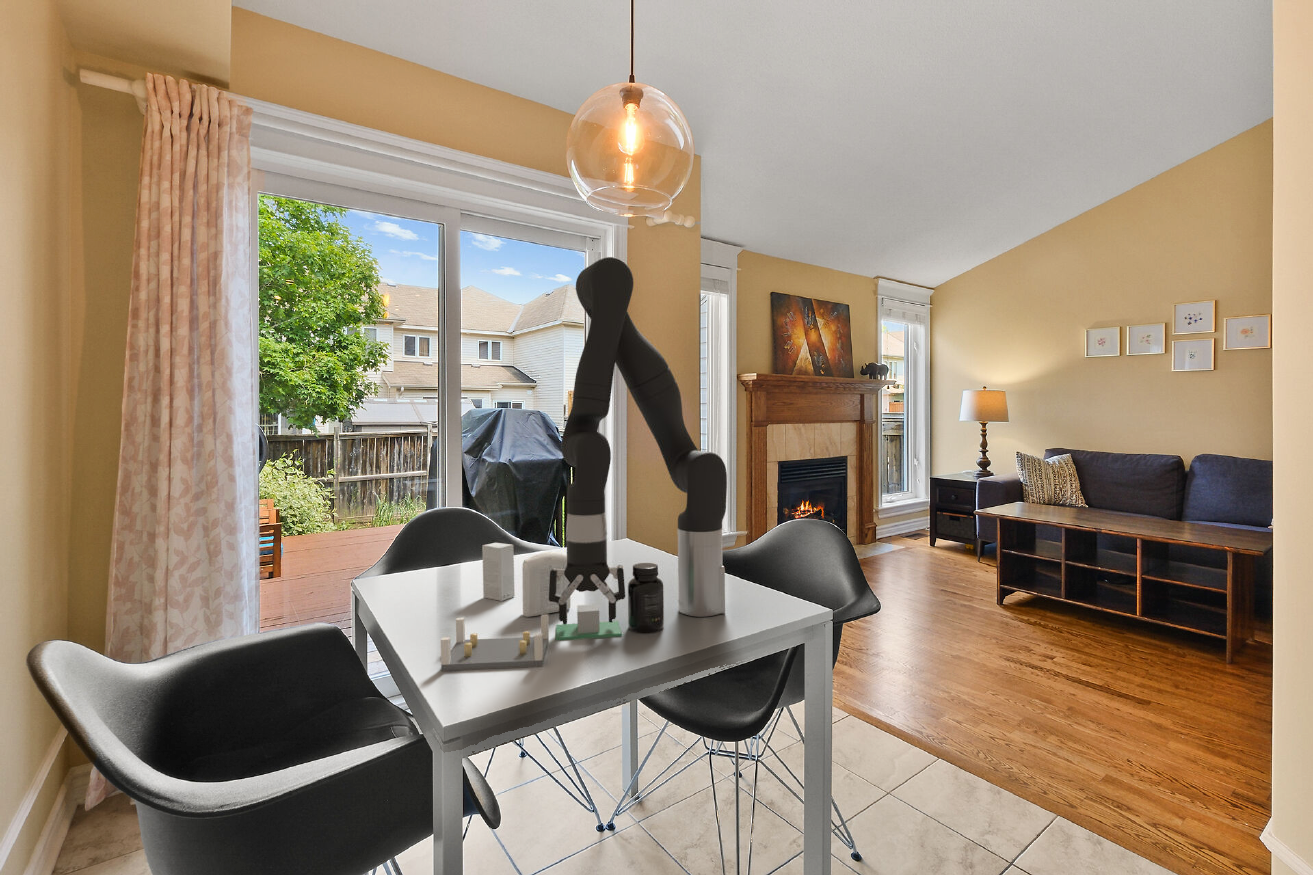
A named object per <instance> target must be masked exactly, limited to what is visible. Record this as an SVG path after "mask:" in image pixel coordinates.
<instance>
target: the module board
mask: <svg viewBox="0 0 1313 875" xmlns="http://www.w3.org/2000/svg"><path fill="white" fill-rule="evenodd" d="M576 606H577V607H576V610H577V611H576V614H577V615H576V617H577V621H576V622H577V623H567V624H563V623H562V624H556V626H555V627H556V630H555V641H557V642H558V641H568V640H582V639H583V640H586V639H601V638H617V637H622V636H623V635H622V634H623V633H622V630H621V626H620V622H619V620H612V622H610V623H609V621H600V607H599V603H598V604H596V603H594V604H581V605H580V604H578V605H576Z"/></svg>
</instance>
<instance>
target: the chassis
mask: <svg viewBox="0 0 1313 875" xmlns="http://www.w3.org/2000/svg"><path fill="white" fill-rule="evenodd" d="M465 622H466V621H465V617H457V618H456V619H455V635H456V641H455V642H456V643H455V644H454V645H453V647H452V646H451V637H450V636H449V637H447V636H443V637H442V638H441V639H440V659H441V660H440V662H441V664H440V665H441V667H440V668H441V670H440V671H441V672H449V671H451V672H452V671H467V670H468V671H469V670H487V669H488V670H492V669H513V668H515V669H516V668H536V667H543V665H544V661H545V658H546V653H547V649H548V646H549V643H550V642H549V641H550V640H549V638H550V633H549V613H548V614H542V615H540V633H534V636H531V632H530V631H528V630H527V631H525V630H524V631H523V632H522V636H521V637H499V638H478V633H475V632H474V633H470V635H469V638H470V639H466V631H465V630H466V628H465V626H466V625H465ZM451 647H452V648H451Z"/></svg>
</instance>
